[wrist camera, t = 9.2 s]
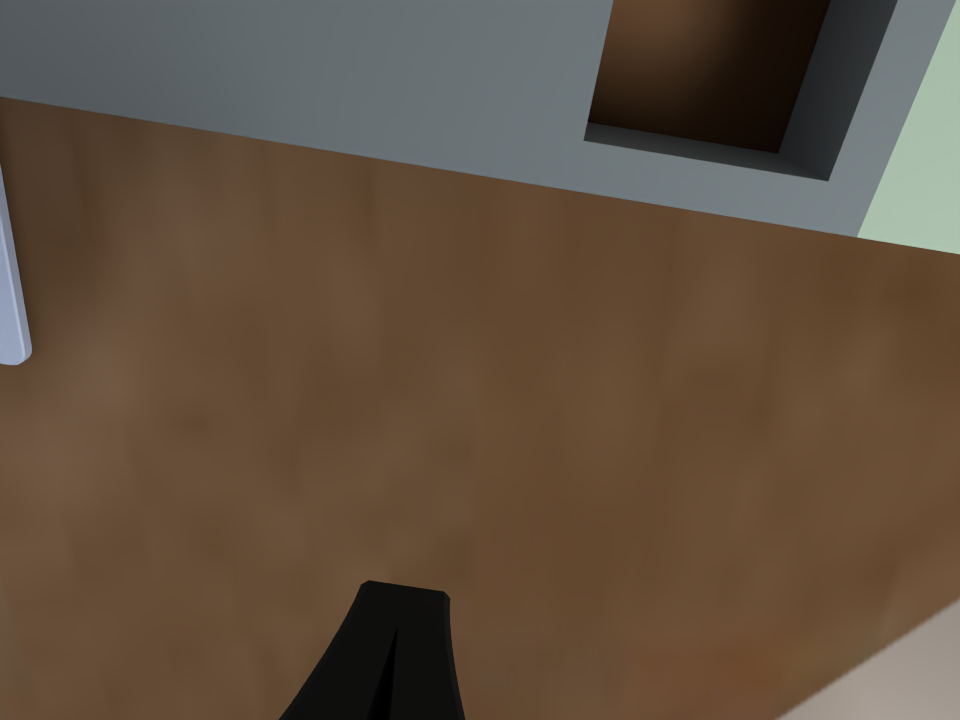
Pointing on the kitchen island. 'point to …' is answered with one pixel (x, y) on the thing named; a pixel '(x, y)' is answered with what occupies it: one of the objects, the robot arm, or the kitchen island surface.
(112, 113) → the trap board
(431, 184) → the kitchen island surface
